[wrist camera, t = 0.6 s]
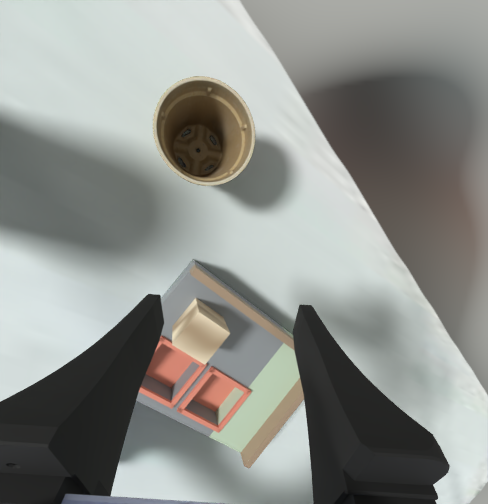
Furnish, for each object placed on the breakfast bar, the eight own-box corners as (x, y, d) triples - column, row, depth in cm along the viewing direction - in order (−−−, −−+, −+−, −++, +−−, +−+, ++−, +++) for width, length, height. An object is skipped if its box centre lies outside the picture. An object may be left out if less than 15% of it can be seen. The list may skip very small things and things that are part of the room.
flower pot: (248, 141, 33) (273, 120, 25) (212, 204, 33) (225, 204, 25) (183, 93, 30) (186, 51, 22) (144, 163, 30) (132, 147, 22)
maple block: (200, 344, 33) (205, 364, 29) (172, 326, 32) (172, 345, 27) (223, 316, 33) (230, 333, 29) (195, 297, 32) (199, 311, 27)
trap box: (240, 437, 41) (249, 468, 36) (104, 366, 33) (93, 393, 28) (311, 348, 41) (328, 367, 36) (193, 259, 34) (196, 267, 29)
